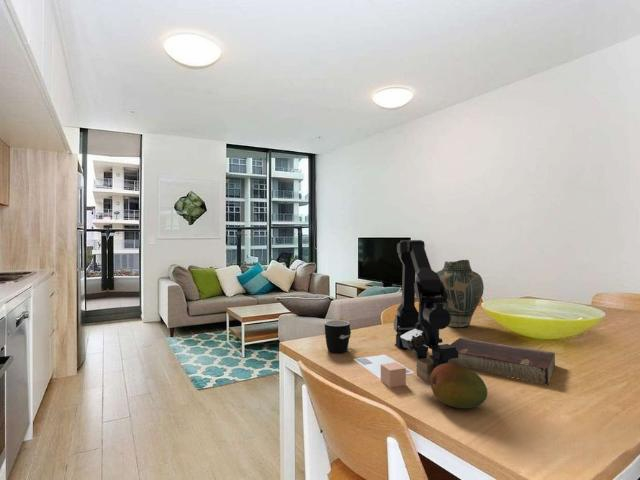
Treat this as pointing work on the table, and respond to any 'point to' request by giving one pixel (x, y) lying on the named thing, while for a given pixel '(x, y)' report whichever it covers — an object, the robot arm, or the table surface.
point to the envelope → (377, 364)
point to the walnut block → (425, 368)
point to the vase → (461, 291)
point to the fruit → (457, 386)
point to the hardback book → (504, 360)
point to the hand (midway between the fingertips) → (429, 373)
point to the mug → (337, 335)
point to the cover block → (393, 374)
